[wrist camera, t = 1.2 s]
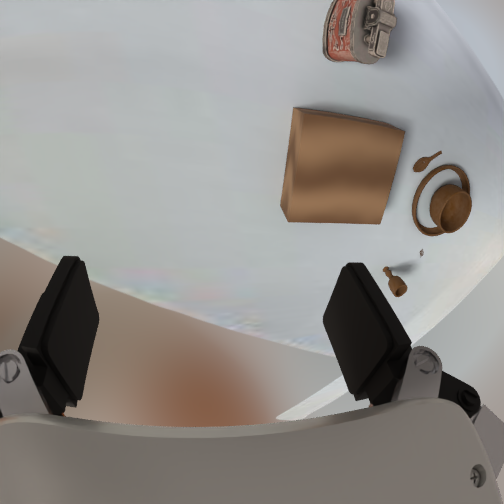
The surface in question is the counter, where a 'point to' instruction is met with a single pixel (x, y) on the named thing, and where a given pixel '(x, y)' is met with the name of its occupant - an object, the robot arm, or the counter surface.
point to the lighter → (358, 30)
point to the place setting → (438, 211)
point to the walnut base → (339, 168)
